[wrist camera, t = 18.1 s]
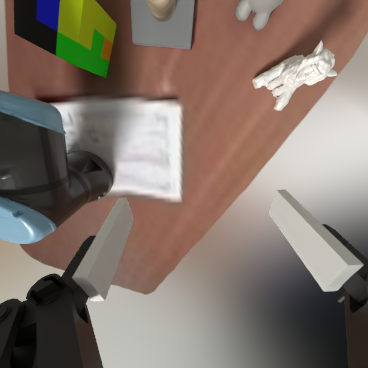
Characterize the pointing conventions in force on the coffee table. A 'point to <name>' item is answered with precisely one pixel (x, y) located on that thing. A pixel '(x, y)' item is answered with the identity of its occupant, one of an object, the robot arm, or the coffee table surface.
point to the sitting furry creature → (296, 74)
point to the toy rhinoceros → (257, 11)
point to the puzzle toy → (68, 30)
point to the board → (162, 25)
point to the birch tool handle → (162, 9)
